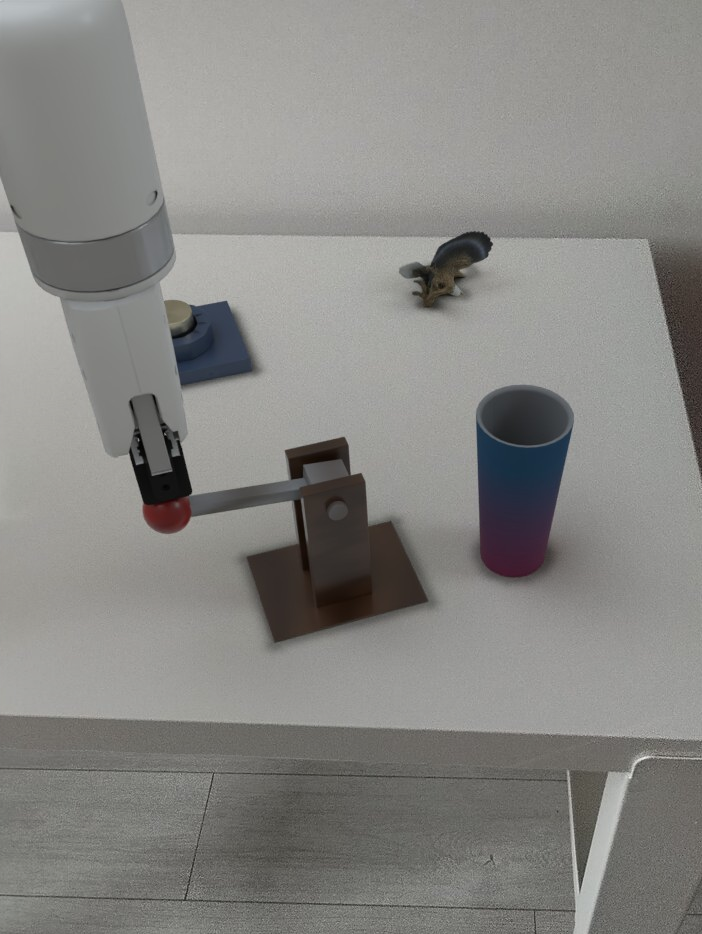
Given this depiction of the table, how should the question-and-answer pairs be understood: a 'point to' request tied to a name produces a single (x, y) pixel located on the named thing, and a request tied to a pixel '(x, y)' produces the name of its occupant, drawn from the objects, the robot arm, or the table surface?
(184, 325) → the button
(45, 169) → the robot arm
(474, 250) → the brown squirrel toy
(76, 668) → the table surface
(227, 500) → the lever
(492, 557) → the cup
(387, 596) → the bracket
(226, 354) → the box
